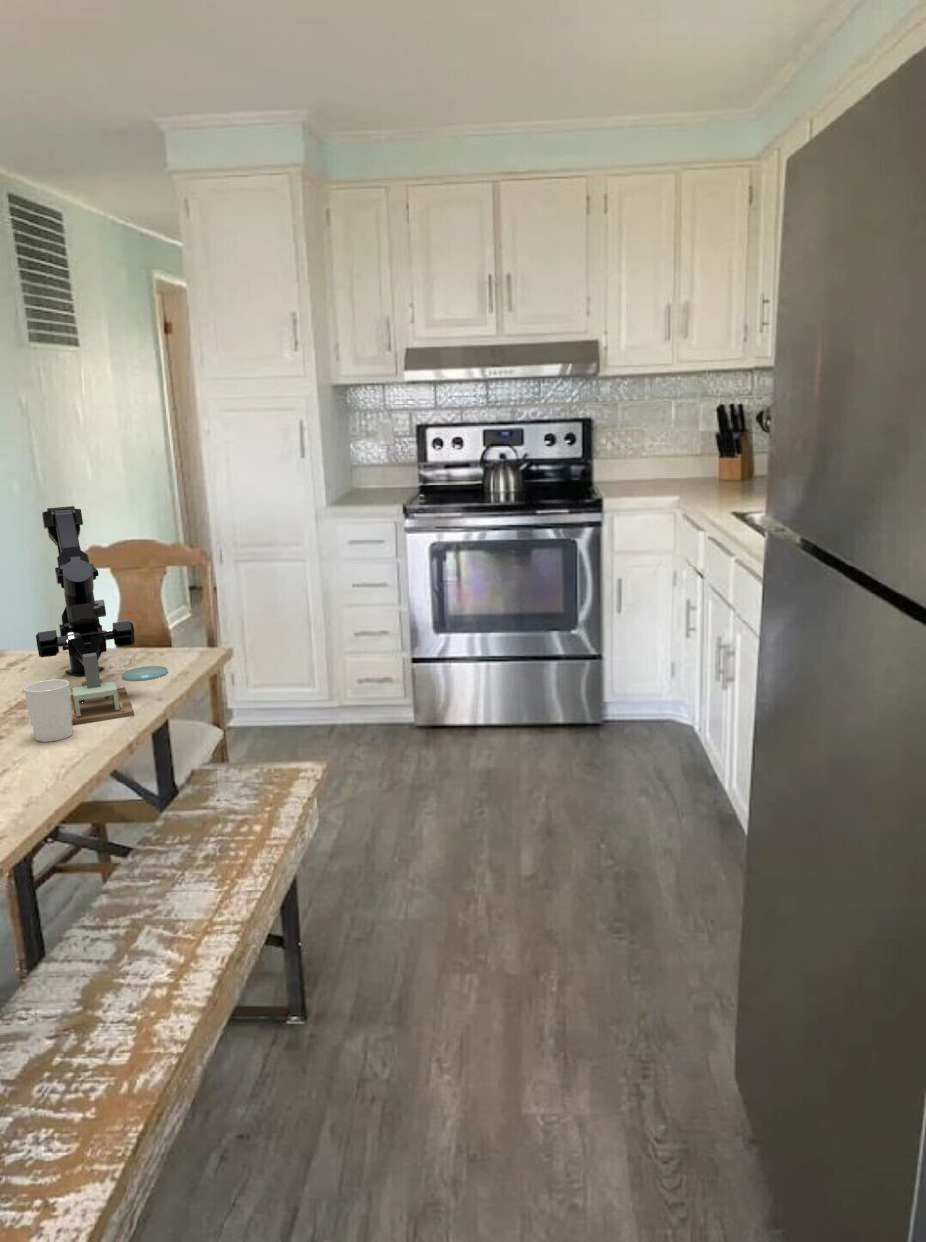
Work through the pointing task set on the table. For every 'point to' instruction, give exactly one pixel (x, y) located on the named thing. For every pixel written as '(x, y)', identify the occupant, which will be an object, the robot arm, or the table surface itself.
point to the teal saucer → (144, 673)
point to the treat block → (92, 698)
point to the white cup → (50, 709)
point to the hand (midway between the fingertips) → (91, 673)
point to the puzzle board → (102, 709)
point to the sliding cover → (93, 684)
